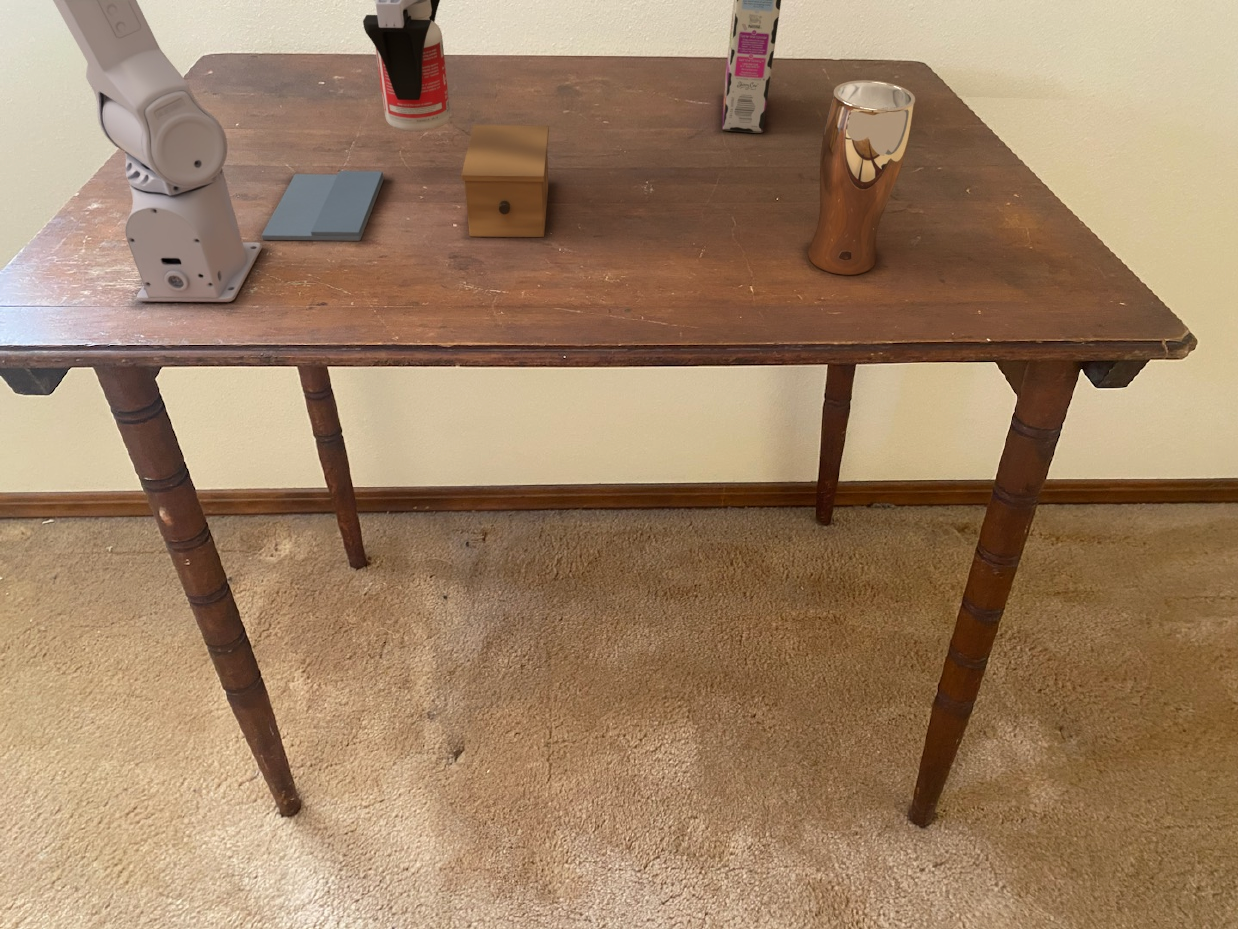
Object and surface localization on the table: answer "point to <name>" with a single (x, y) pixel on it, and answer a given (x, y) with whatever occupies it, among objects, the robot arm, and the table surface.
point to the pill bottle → (434, 91)
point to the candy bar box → (749, 64)
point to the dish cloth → (325, 207)
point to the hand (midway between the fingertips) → (413, 85)
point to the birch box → (506, 180)
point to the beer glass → (859, 171)
